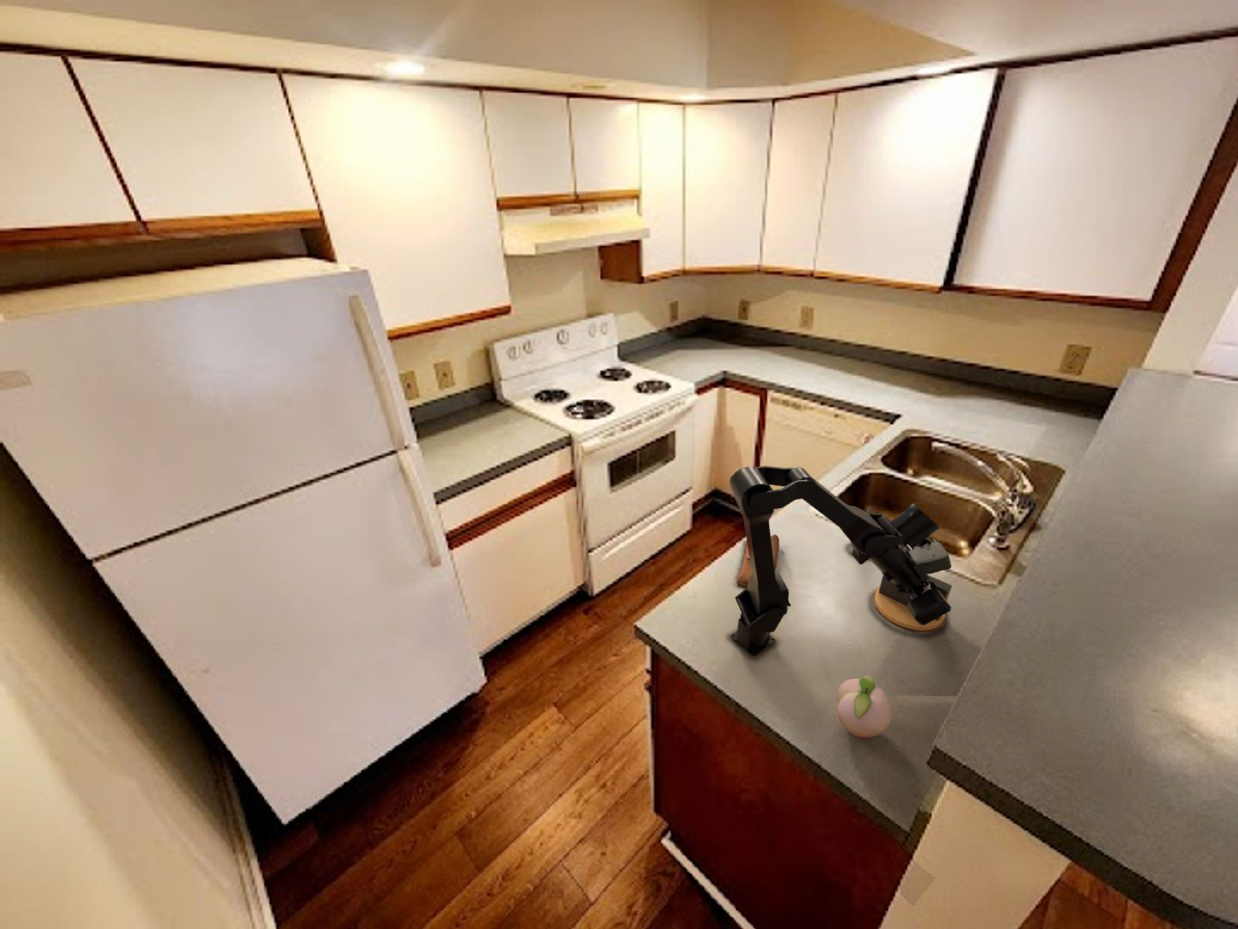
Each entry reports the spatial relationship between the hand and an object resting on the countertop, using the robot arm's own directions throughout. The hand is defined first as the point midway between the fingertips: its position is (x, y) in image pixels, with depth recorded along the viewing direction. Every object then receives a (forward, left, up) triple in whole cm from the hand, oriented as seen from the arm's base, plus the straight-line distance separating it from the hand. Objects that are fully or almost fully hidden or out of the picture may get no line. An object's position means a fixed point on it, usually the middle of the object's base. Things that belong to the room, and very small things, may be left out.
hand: (934, 604), depth 106 cm
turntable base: (+1, +5, -6) cm, 8 cm away
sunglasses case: (-13, +34, -6) cm, 37 cm away
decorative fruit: (-31, -5, -6) cm, 32 cm away
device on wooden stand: (+1, +5, -5) cm, 7 cm away
